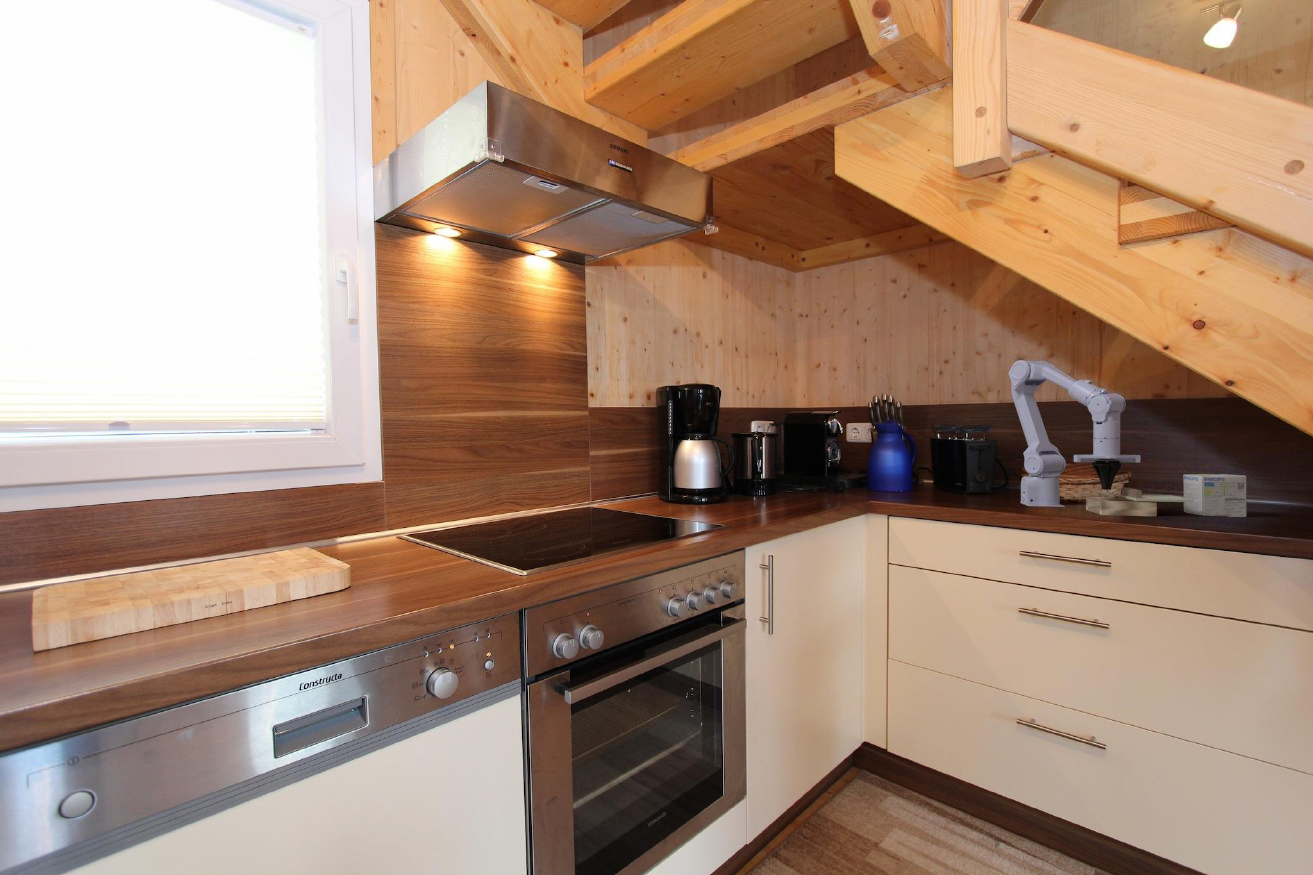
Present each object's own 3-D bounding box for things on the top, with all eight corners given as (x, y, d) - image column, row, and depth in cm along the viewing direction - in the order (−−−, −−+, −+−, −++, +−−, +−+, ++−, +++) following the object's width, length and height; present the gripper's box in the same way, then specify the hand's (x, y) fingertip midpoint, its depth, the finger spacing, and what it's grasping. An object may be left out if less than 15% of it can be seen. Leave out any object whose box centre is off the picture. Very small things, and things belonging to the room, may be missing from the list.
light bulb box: (1225, 513, 157) (1225, 473, 157) (1248, 517, 150) (1248, 475, 150) (1181, 513, 158) (1181, 473, 158) (1202, 517, 151) (1202, 475, 151)
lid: (1136, 501, 152) (1136, 491, 152) (1118, 496, 162) (1118, 487, 162) (1192, 502, 149) (1192, 491, 149) (1171, 497, 158) (1171, 487, 158)
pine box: (1101, 516, 155) (1101, 501, 154) (1086, 511, 164) (1086, 497, 164) (1156, 518, 151) (1156, 502, 151) (1137, 512, 161) (1137, 498, 161)
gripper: (1081, 439, 156) (1080, 490, 157) (1146, 439, 152) (1146, 491, 153) (1070, 438, 163) (1070, 487, 163) (1133, 438, 159) (1133, 488, 159)
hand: (1106, 489), depth 158 cm, fingers closed
